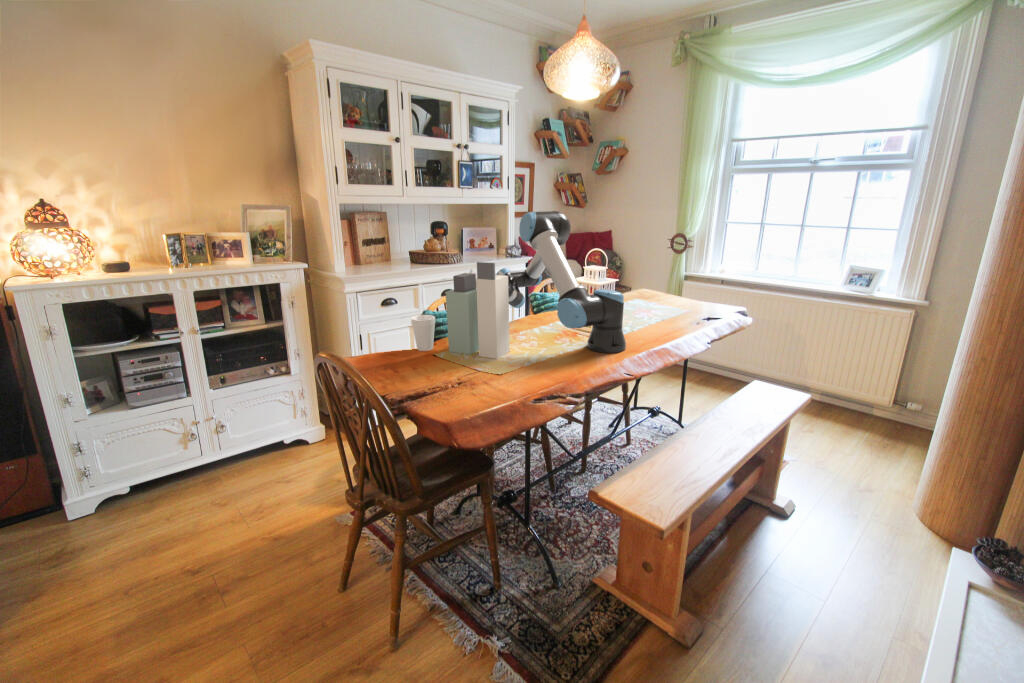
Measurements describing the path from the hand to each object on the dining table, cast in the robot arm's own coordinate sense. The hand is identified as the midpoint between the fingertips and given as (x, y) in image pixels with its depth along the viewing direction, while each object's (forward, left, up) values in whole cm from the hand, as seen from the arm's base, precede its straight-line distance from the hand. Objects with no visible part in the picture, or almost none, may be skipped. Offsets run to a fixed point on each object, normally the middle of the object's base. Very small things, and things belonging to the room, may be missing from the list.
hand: (484, 273), depth 195 cm
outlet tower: (-13, +16, -28) cm, 35 cm away
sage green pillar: (0, +16, -28) cm, 33 cm away
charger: (0, +11, -4) cm, 12 cm away
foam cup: (+16, +22, -29) cm, 40 cm away
